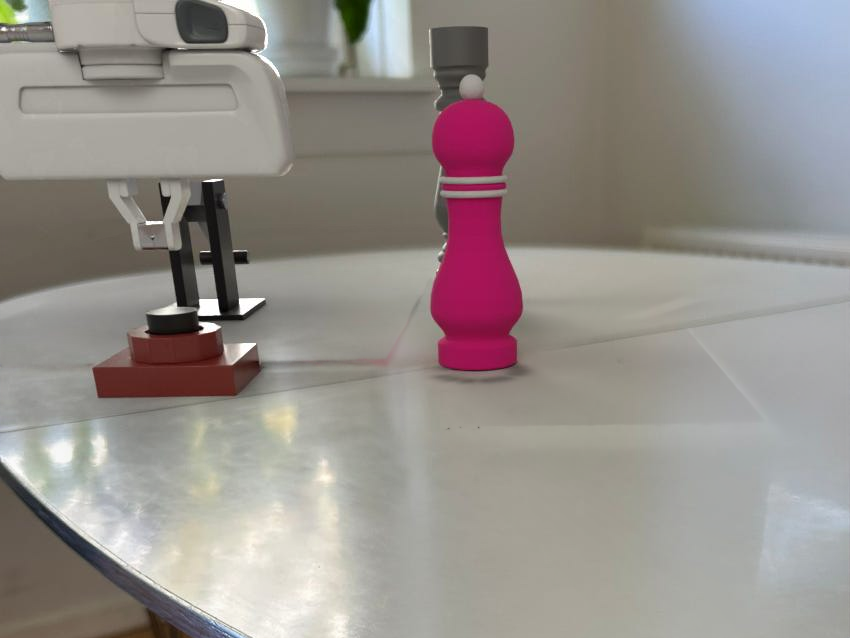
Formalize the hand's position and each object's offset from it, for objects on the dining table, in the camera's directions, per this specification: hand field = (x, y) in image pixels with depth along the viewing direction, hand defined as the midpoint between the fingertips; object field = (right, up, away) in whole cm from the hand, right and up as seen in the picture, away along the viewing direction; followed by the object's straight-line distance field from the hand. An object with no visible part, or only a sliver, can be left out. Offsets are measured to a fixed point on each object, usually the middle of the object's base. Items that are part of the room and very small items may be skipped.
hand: (158, 250), depth 70 cm
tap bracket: (-4, +4, +28) cm, 29 cm away
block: (0, -8, +4) cm, 10 cm away
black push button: (0, -5, +3) cm, 6 cm away
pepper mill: (+23, -6, +9) cm, 25 cm away
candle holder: (+21, +8, +36) cm, 42 cm away
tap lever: (-4, +12, +28) cm, 30 cm away
